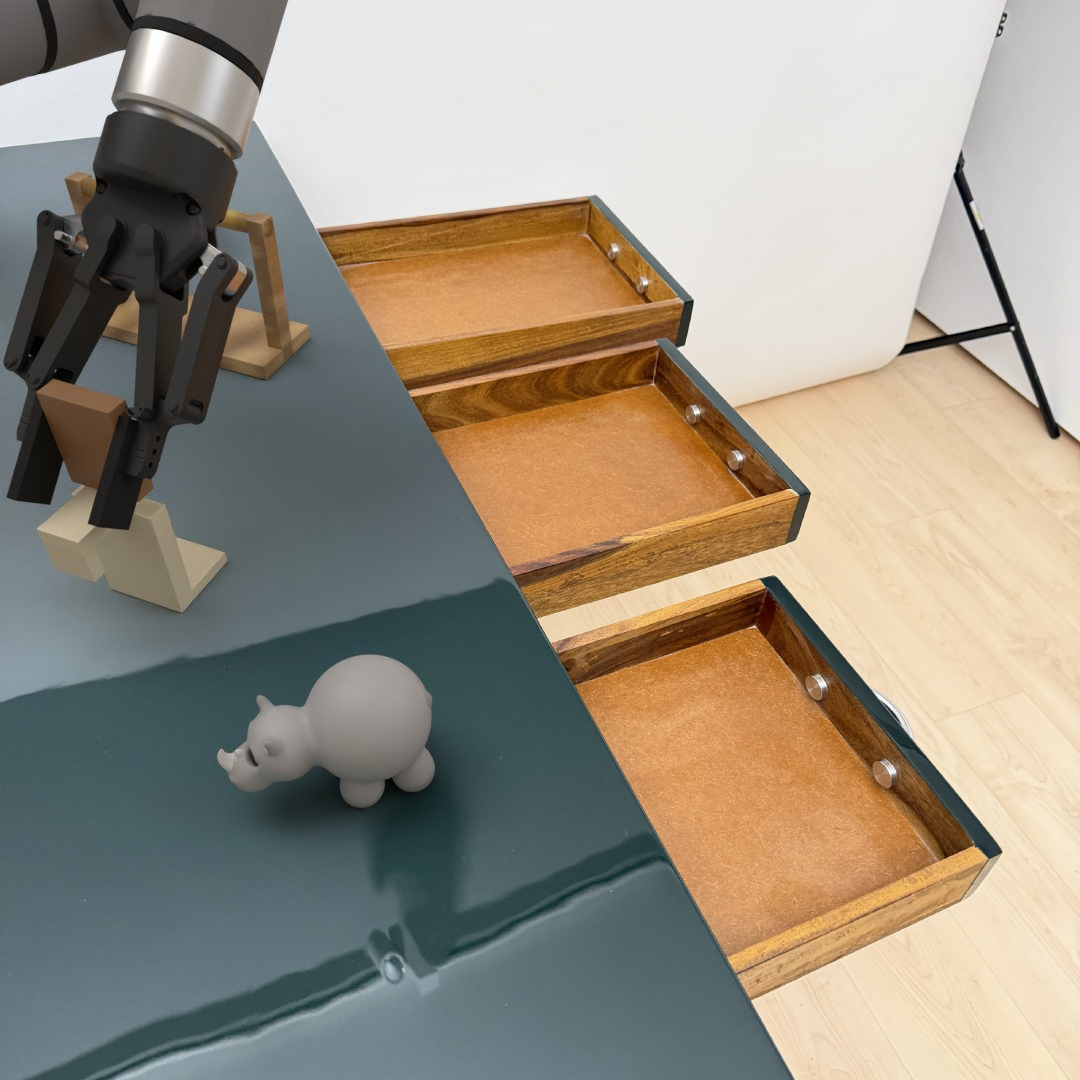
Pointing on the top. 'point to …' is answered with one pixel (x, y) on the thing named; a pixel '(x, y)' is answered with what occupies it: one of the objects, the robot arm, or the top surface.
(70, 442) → the beige and brown blocks
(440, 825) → the top surface
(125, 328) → the stand
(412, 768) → the round bodied animal figurine
